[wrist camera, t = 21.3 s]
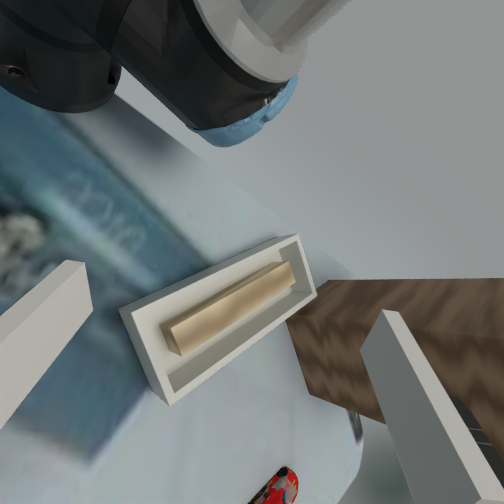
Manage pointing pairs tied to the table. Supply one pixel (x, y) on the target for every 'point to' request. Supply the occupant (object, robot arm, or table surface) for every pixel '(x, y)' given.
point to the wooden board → (225, 308)
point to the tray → (228, 340)
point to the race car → (279, 489)
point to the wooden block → (424, 332)
